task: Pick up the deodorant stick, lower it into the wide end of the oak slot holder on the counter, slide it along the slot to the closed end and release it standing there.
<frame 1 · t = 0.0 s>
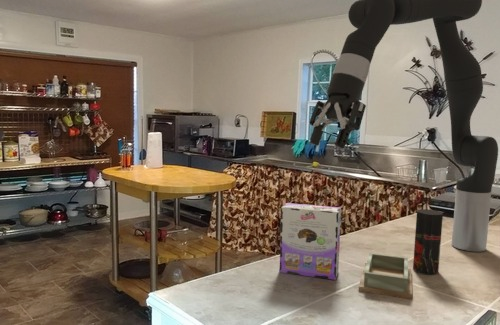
hand: (325, 145, 96), 31 cm above the table, tool tilted 20°, fingers open, 8 cm apart
deodorant: (425, 271, 108), on the table
holder: (386, 281, 100), on the table
candy box: (308, 273, 105), on the table
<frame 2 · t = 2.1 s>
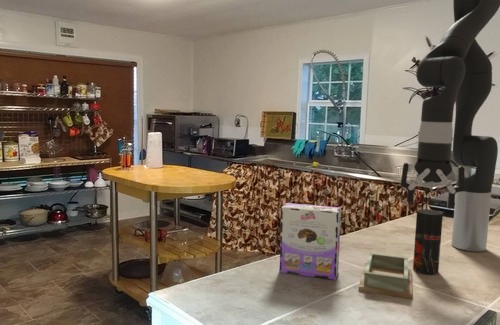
hand: (429, 206, 106), 16 cm above the table, tool pointing down, fingers open, 8 cm apart
nothing on the table moved.
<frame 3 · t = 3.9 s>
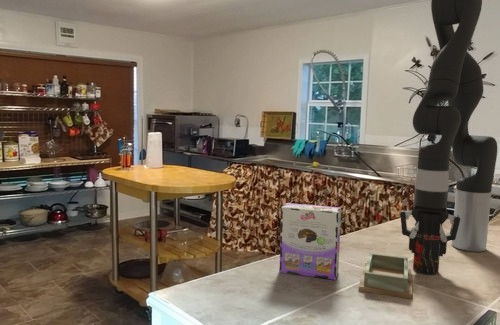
hand: (426, 253, 107), 4 cm above the table, tool pointing down, fingers closed on deodorant, 6 cm apart
deodorant: (425, 271, 108), on the table, touching gripper
everything else where it was.
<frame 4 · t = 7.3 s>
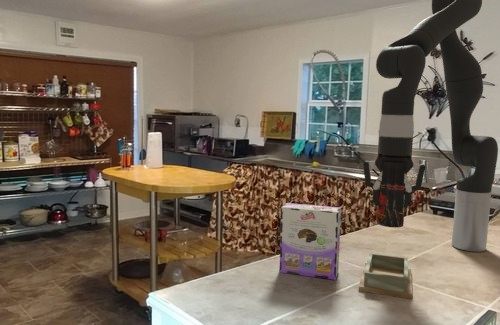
hand: (391, 206, 101), 17 cm above the table, tool pointing down, fingers closed on deodorant, 6 cm apart
deodorant: (390, 224, 101), point 13 cm above the table, touching gripper
everything else where it was.
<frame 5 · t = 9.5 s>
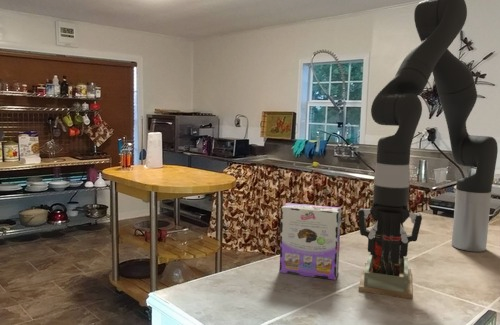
hand: (386, 255, 98), 7 cm above the table, tool pointing down, fingers closed on deodorant, 6 cm apart
deodorant: (385, 275, 99), point 2 cm above the table, touching gripper
everything else where it was.
when the fingers open (6 cm above the table, at t = 10.8 s): deodorant drops 1 cm, resting on holder.
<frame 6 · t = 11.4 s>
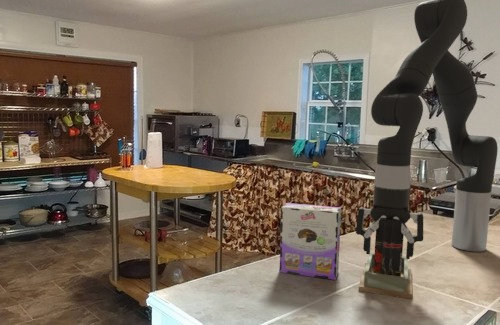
hand: (387, 255, 97), 7 cm above the table, tool pointing down, fingers open, 8 cm apart
deodorant: (386, 282, 97), point 1 cm above the table, touching holder
everything else where it was.
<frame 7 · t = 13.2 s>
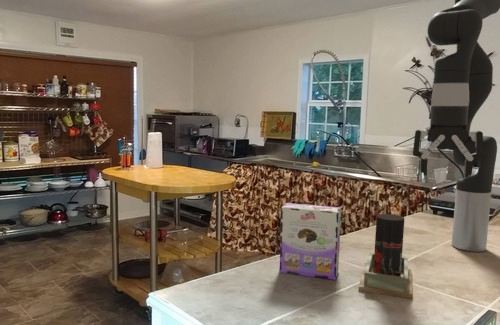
hand: (445, 176, 98), 25 cm above the table, tool pointing down, fingers open, 8 cm apart
nothing on the table moved.
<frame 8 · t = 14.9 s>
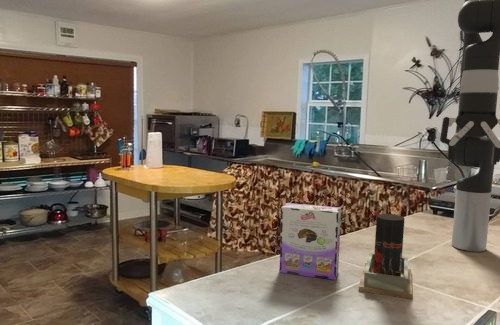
hand: (472, 163, 98), 28 cm above the table, tool pointing down, fingers open, 8 cm apart
nothing on the table moved.
at the end: deodorant 0.8 cm from the target spot on the holder, point 0.8 cm above the holder's base; deodorant tilted 0°; the gripper is holding nothing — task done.
